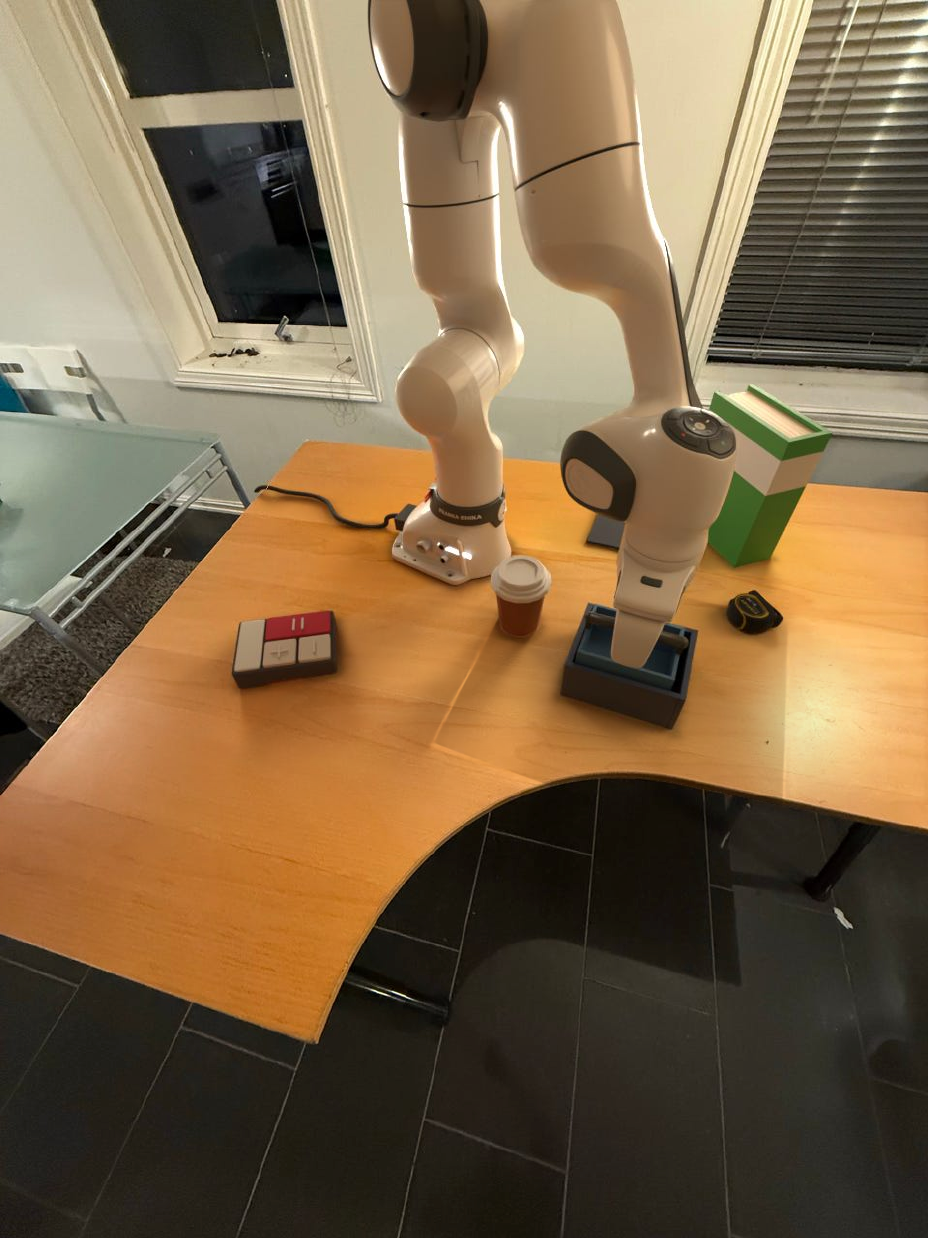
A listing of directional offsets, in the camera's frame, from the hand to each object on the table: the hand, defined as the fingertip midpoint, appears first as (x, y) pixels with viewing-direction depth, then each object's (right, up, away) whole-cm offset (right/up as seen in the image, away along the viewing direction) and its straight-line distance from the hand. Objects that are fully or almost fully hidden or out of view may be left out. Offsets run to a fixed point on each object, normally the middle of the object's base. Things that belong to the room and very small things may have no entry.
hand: (633, 633), depth 70 cm
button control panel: (-51, -4, +14) cm, 53 cm away
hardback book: (+26, +18, +28) cm, 42 cm away
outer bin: (+1, -7, +7) cm, 10 cm away
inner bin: (0, -5, +5) cm, 7 cm away
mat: (+10, +19, +30) cm, 37 cm away
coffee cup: (-14, +1, +16) cm, 21 cm away
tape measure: (+23, +2, +14) cm, 27 cm away
